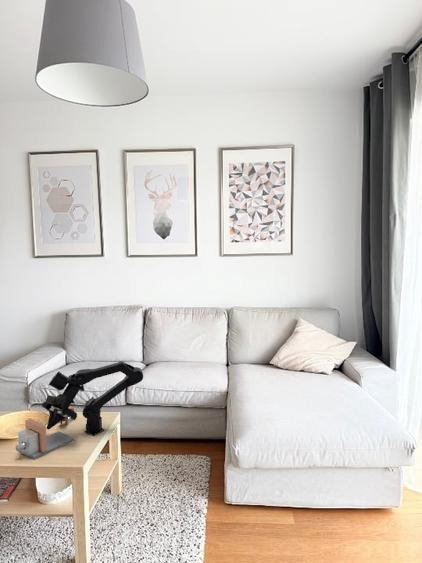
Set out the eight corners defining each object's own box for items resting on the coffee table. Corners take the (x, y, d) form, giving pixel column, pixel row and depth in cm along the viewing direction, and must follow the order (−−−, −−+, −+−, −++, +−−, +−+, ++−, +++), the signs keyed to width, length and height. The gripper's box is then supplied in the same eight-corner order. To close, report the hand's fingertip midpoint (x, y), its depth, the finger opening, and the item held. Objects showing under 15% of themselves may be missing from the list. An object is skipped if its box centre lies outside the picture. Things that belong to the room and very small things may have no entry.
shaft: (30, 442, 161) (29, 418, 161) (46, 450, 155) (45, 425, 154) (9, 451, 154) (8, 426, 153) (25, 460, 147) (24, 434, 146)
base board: (59, 433, 173) (58, 431, 172) (75, 440, 166) (74, 438, 166) (18, 451, 157) (18, 448, 157) (34, 459, 150) (34, 456, 150)
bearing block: (28, 446, 158) (27, 428, 158) (38, 451, 154) (38, 433, 153) (18, 450, 155) (18, 432, 155) (29, 456, 150) (28, 437, 150)
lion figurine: (67, 429, 177) (66, 410, 176) (55, 429, 177) (55, 410, 176) (78, 416, 192) (77, 399, 191) (67, 416, 192) (67, 399, 191)
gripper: (44, 383, 169) (21, 416, 161) (70, 391, 159) (47, 426, 150) (60, 395, 176) (39, 426, 168) (86, 402, 166) (65, 437, 158)
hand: (47, 429), depth 161 cm, fingers closed
